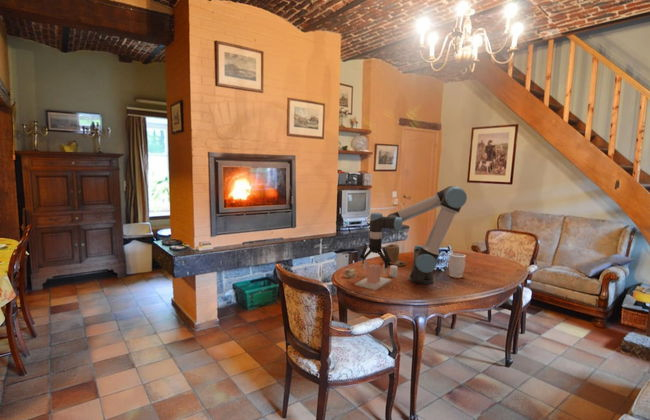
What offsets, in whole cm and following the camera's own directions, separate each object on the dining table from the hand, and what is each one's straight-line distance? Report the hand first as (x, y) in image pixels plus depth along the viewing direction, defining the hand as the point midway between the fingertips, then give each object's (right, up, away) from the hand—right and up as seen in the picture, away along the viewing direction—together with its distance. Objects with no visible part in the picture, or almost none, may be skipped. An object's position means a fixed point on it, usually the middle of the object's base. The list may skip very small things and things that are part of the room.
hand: (374, 271), depth 227 cm
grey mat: (-1, -7, +1) cm, 8 cm away
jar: (+58, -7, +21) cm, 62 cm away
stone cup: (+21, -3, +45) cm, 50 cm away
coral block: (0, -6, +1) cm, 7 cm away
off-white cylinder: (+15, -6, +16) cm, 22 cm away
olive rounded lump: (-15, -6, +12) cm, 20 cm away
